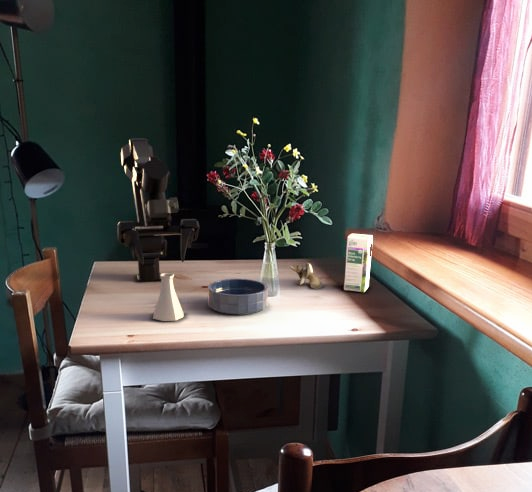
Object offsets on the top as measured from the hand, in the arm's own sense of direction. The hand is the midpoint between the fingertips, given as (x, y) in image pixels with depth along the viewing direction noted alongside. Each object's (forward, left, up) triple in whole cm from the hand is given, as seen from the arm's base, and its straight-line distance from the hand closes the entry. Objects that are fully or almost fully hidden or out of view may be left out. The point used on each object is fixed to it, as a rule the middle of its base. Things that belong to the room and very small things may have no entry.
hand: (163, 262), depth 142 cm
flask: (+5, 0, -12) cm, 13 cm away
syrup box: (-10, +51, -12) cm, 54 cm away
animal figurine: (-16, +39, -12) cm, 44 cm away
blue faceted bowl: (0, +17, -12) cm, 21 cm away
